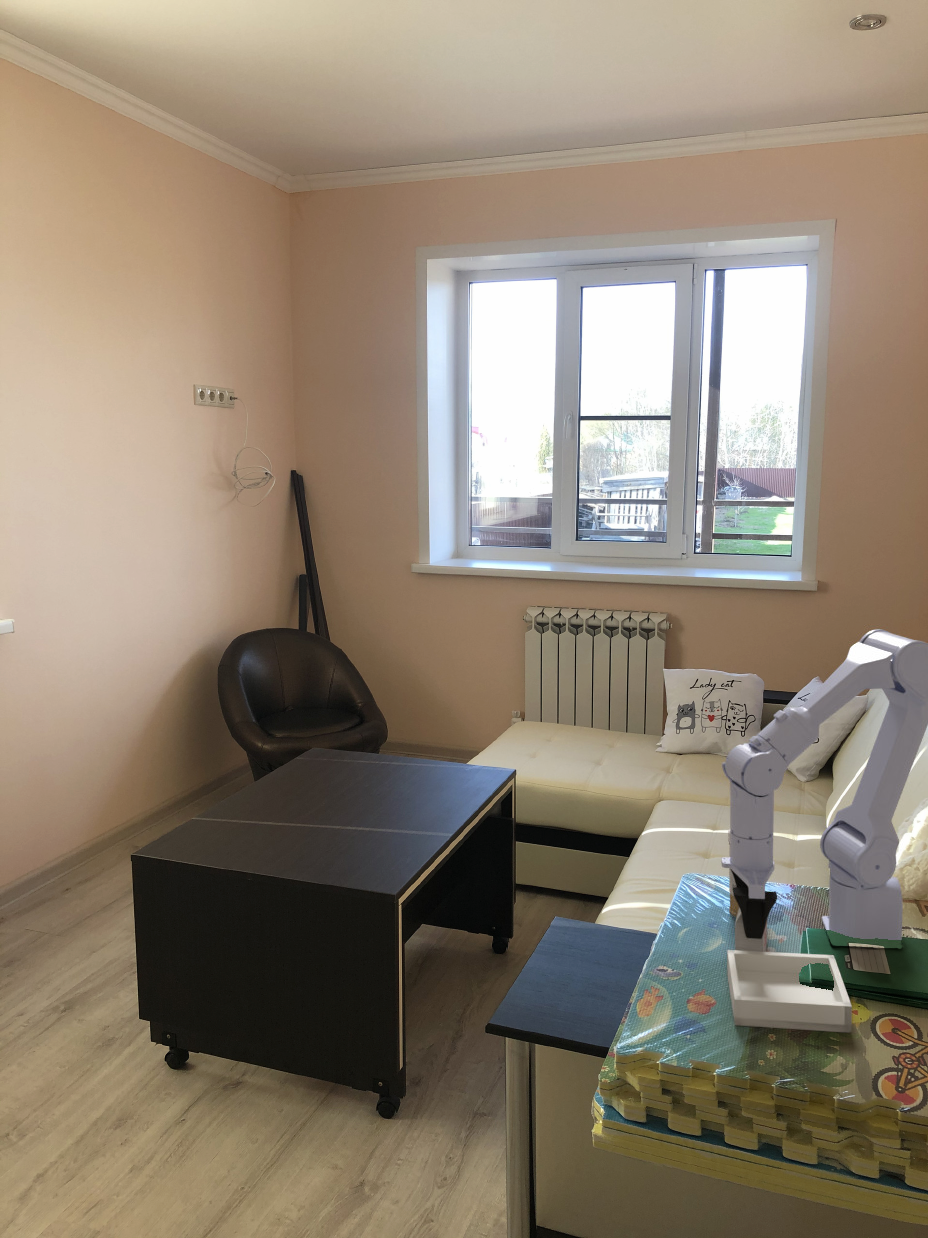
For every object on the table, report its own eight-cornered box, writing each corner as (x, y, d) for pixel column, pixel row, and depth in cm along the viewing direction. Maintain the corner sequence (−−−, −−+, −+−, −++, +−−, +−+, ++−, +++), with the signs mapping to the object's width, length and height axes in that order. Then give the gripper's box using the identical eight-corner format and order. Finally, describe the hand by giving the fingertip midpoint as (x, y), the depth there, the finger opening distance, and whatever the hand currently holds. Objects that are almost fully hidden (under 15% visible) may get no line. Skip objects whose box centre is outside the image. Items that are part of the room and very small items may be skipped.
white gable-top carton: (735, 963, 131) (734, 896, 129) (740, 938, 137) (740, 874, 135) (762, 967, 129) (763, 899, 128) (767, 942, 136) (767, 878, 134)
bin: (833, 979, 125) (833, 955, 125) (851, 1032, 114) (851, 1006, 114) (727, 973, 128) (727, 950, 127) (734, 1025, 117) (734, 999, 116)
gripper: (717, 810, 138) (717, 897, 140) (725, 852, 124) (725, 948, 126) (768, 812, 136) (767, 899, 139) (781, 854, 122) (780, 951, 125)
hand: (750, 922), depth 132 cm, fingers closed on white gable-top carton, 7 cm apart
